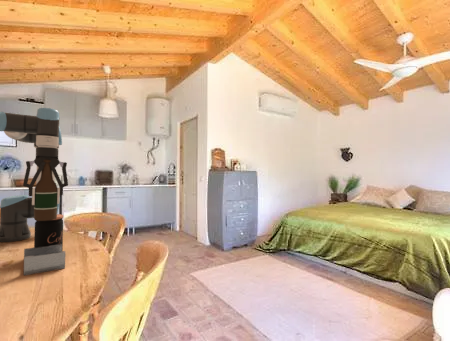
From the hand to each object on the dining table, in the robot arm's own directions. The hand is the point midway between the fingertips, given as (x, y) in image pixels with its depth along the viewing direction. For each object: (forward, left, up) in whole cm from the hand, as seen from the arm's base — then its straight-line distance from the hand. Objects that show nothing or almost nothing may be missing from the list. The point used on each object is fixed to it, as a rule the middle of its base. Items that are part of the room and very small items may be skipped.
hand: (45, 203), depth 105 cm
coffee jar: (-14, +2, -25) cm, 29 cm away
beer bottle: (0, 0, -6) cm, 6 cm away
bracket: (0, 0, -25) cm, 25 cm away
